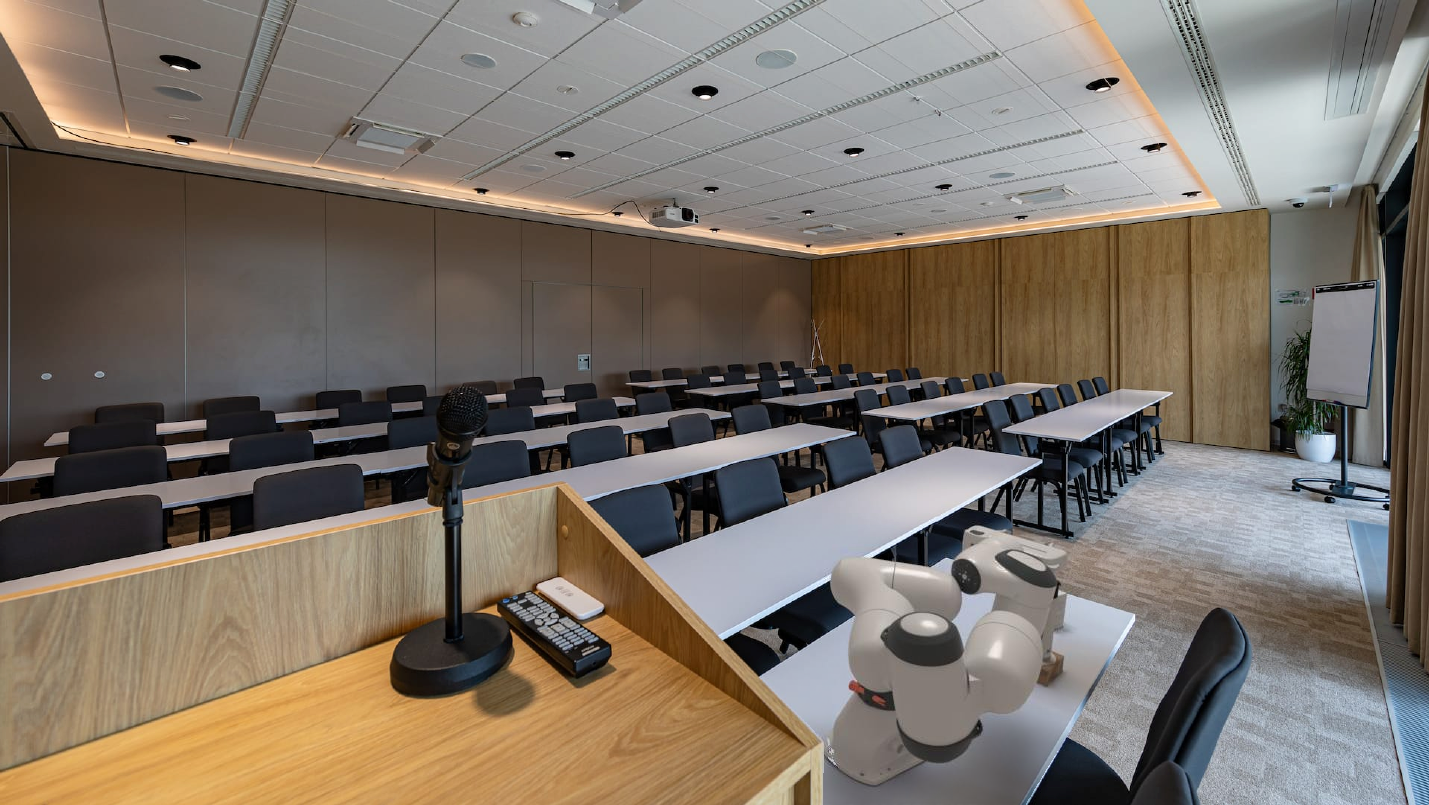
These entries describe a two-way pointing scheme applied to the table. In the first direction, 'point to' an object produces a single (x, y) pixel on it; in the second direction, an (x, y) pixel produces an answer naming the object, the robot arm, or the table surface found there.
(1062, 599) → the small box
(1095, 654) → the table surface
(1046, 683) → the plinth
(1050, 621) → the travel mug
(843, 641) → the table surface
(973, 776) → the table surface
